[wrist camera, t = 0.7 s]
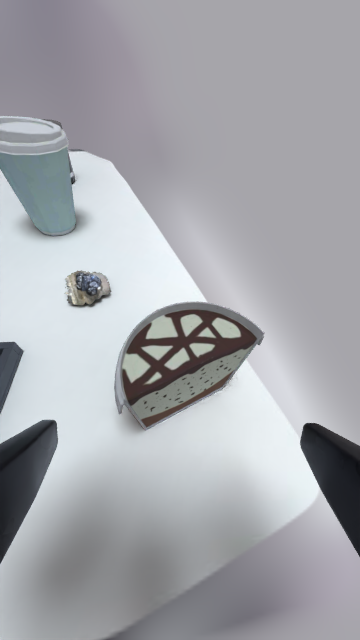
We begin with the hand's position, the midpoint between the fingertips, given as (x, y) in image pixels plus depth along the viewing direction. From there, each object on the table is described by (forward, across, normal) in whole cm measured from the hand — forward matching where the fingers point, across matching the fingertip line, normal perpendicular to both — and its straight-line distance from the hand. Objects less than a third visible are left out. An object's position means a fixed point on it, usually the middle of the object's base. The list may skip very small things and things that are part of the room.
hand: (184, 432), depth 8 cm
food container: (+16, 0, +6) cm, 17 cm away
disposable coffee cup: (+38, +21, -12) cm, 45 cm away
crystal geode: (+26, +12, -2) cm, 29 cm away
